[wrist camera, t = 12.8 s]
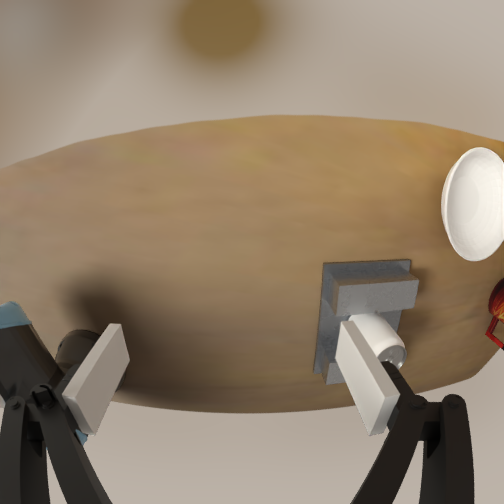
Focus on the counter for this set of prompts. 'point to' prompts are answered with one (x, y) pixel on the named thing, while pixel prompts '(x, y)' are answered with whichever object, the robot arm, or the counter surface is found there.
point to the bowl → (475, 204)
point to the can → (381, 338)
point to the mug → (496, 311)
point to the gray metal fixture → (359, 303)
